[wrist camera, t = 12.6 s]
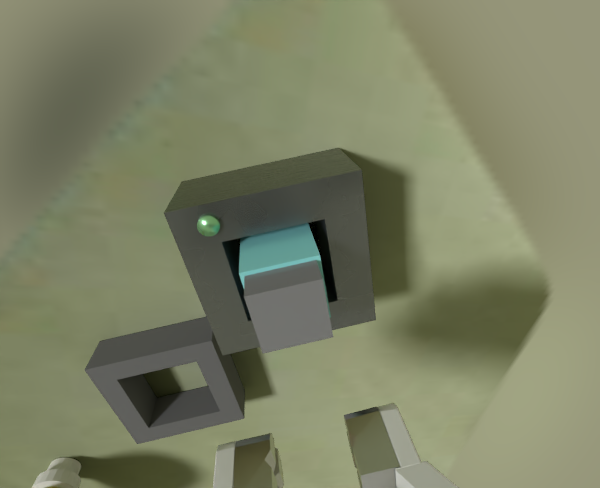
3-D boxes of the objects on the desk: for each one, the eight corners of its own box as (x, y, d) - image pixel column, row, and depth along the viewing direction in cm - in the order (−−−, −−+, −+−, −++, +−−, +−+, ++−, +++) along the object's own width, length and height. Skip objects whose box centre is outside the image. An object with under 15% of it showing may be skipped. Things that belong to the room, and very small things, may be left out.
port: (354, 276, 24) (376, 322, 19) (226, 306, 23) (222, 358, 19) (338, 147, 19) (363, 171, 15) (181, 181, 19) (162, 214, 15)
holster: (244, 390, 27) (244, 418, 25) (146, 413, 27) (137, 444, 25) (215, 314, 24) (211, 340, 21) (99, 341, 23) (84, 369, 21)
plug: (309, 252, 22) (338, 339, 15) (255, 264, 22) (259, 357, 15) (300, 201, 20) (326, 273, 13) (241, 214, 20) (237, 293, 13)
